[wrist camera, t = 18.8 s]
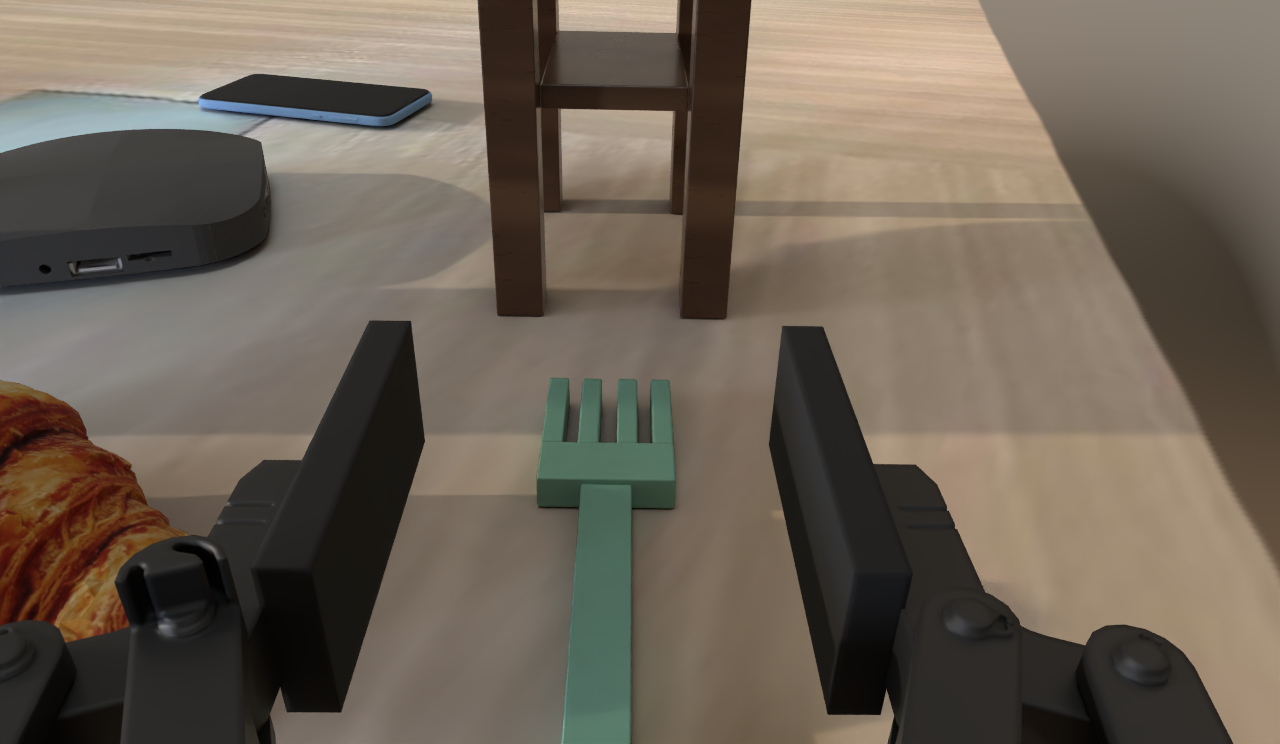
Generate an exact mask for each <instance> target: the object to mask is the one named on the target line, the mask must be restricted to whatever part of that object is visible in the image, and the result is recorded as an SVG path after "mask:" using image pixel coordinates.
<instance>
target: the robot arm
mask: <svg viewBox="0 0 1280 744" xmlns="http://www.w3.org/2000/svg"><path fill="white" fill-rule="evenodd" d="M424 443H425V438H424V429H423V421H422V412H421V404H420V395H419V387H418V378H417V370H416V361H415V353H414V344H413V336H412V327H411V321H369V323H368V325H367V327H366V329H365V331H364V333H363V335H362V337H361V339H360V341H359V344H358V346H357V348H356V350H355V352H354V354H353V356H352V358H351V360H350V362H349V364H348V366H347V368H346V370H345V372H344V375H343V377H342V379H341V381H340V383H339V385H338V387H337V389H336V391H335V393H334V395H333V397H332V399H331V401H330V403H329V406H328V408H327V410H326V412H325V414H324V416H323V418H322V420H321V422H320V424H319V426H318V428H317V430H316V432H315V434H314V437H313V439H312V441H311V443H310V445H309V447H308V449H307V451H306V453H305V455H304V457H303V459H302V460H263V461H262V462H261V463H260V464H258V465H257V466H256V467H255V468H254V469H252V470H251V471H250V472H249V473H247V474H246V475H245V476H244V477H243V478H241V479H240V480H239V482H238V484H237V486H236V487H235V489H234V491H233V493H232V495H231V496H230V498H229V500H228V502H227V506H225V507H224V509H223V511H222V512H221V514H220V516H219V518H218V520H217V525H214V527H213V529H212V530H211V532H210V534H209V536H208V537H201V536H196V535H190V536H179V537H172V538H169V539H166V540H162V541H159V542H156V543H153V544H151V545H149V546H148V547H146V548H144V549H142V550H141V551H139V552H137V553H135V554H134V555H133V556H132V557H131V558H130V559H129V560H128V561H127V562H126V563H125V564H124V565H123V566H122V567H121V568H120V569H119V572H118V574H117V577H116V579H115V581H114V583H115V586H116V589H117V592H118V594H119V597H120V600H121V603H122V605H123V608H124V611H125V614H126V617H127V619H128V622H129V625H130V627H127V628H123V629H120V630H117V631H114V632H110V633H106V634H101V635H97V636H92V637H88V638H84V639H79V640H75V641H70V642H65V640H64V638H63V636H62V634H61V631H60V629H59V628H58V627H56V626H54V625H52V624H50V623H48V622H46V621H36V620H24V621H18V622H13V623H8V624H4V625H1V626H0V744H276V740H275V732H274V728H273V724H272V721H271V717H270V712H271V709H272V707H273V704H274V701H275V699H276V696H277V694H278V691H279V688H280V687H281V691H282V695H283V699H284V703H285V706H286V710H287V712H341V711H342V708H343V704H344V701H345V698H346V695H347V692H348V688H349V685H350V682H351V679H352V675H353V672H354V669H355V666H356V662H357V659H358V656H359V653H360V649H361V646H362V643H363V640H364V637H365V633H366V630H367V627H368V624H369V620H370V617H371V614H372V611H373V607H374V604H375V601H376V598H377V594H378V591H379V588H380V585H381V582H382V578H383V575H384V572H385V569H386V565H387V562H388V559H389V556H390V552H391V549H392V546H393V543H394V540H395V536H396V533H397V530H398V527H399V523H400V520H401V517H402V514H403V510H404V507H405V504H406V501H407V497H408V494H409V491H410V488H411V485H412V481H413V478H414V475H415V472H416V468H417V465H418V462H419V459H420V455H421V452H422V449H423V446H424ZM769 447H770V452H771V457H772V461H773V466H774V470H775V475H776V479H777V484H778V489H779V493H780V498H781V502H782V507H783V512H784V516H785V521H786V525H787V530H788V535H789V539H790V544H791V548H792V553H793V557H794V562H795V567H796V571H797V576H798V580H799V585H800V590H801V594H802V599H803V603H804V608H805V613H806V617H807V622H808V626H809V631H810V635H811V640H812V645H813V649H814V654H815V658H816V663H817V668H818V672H819V677H820V681H821V686H822V690H823V695H824V700H825V704H826V709H827V713H828V715H881V710H882V706H883V702H884V697H885V693H886V689H887V692H888V695H889V699H890V702H891V705H892V709H893V712H894V719H893V723H892V728H891V732H890V736H889V740H888V744H1233V742H1232V740H1231V738H1230V736H1229V734H1228V732H1227V730H1226V728H1225V726H1224V724H1223V722H1222V720H1221V718H1220V716H1219V714H1218V712H1217V710H1216V709H1215V707H1214V705H1213V703H1212V701H1211V699H1210V697H1209V695H1208V693H1207V691H1206V689H1205V687H1204V685H1203V683H1202V681H1201V679H1200V677H1199V675H1198V673H1197V671H1196V669H1195V667H1194V666H1193V665H1192V663H1191V662H1190V661H1189V659H1188V658H1187V657H1186V655H1185V654H1184V653H1183V652H1182V651H1181V650H1180V649H1178V648H1177V647H1176V646H1174V645H1173V644H1172V643H1171V642H1169V641H1168V640H1167V639H1165V638H1163V637H1161V636H1159V635H1157V634H1154V633H1152V632H1150V631H1148V630H1146V629H1142V628H1137V627H1133V626H1128V625H1109V626H1104V627H1102V628H1100V629H1098V630H1096V631H1094V632H1092V634H1091V636H1090V638H1089V640H1088V641H1087V643H1086V646H1085V645H1081V644H1077V643H1073V642H1069V641H1065V640H1061V639H1057V638H1053V637H1049V636H1045V635H1042V634H1039V633H1036V632H1033V631H1030V630H1028V629H1026V628H1024V627H1022V626H1020V622H1019V619H1018V618H1017V617H1016V616H1015V614H1014V613H1013V612H1012V611H1011V609H1010V608H1009V607H1008V606H1007V605H1006V604H1004V603H1003V602H1001V601H1000V600H998V599H997V598H995V597H994V596H993V595H990V594H988V593H985V591H984V588H983V586H982V584H981V582H980V580H979V577H978V575H977V573H976V571H975V568H974V566H973V564H972V562H971V559H970V557H969V555H968V553H967V550H966V548H965V546H964V544H963V542H962V539H961V537H960V535H959V533H958V530H957V529H955V524H954V521H953V519H952V517H951V515H950V512H949V511H947V506H946V504H945V501H944V499H943V497H942V495H941V492H940V490H939V488H938V486H937V484H936V483H935V482H934V481H933V480H932V479H931V478H929V477H928V476H927V475H926V474H925V473H924V472H923V471H922V470H921V469H920V468H919V467H918V466H917V465H899V464H873V462H872V459H871V457H870V454H869V451H868V448H867V446H866V443H865V440H864V438H863V435H862V432H861V429H860V427H859V424H858V421H857V418H856V416H855V413H854V410H853V408H852V405H851V402H850V399H849V397H848V394H847V391H846V388H845V386H844V383H843V380H842V378H841V375H840V372H839V369H838V367H837V364H836V361H835V358H834V356H833V353H832V350H831V347H830V345H829V342H828V339H827V337H826V334H825V331H824V328H823V327H814V326H782V335H781V343H780V352H779V361H778V370H777V379H776V387H775V396H774V405H773V414H772V423H771V431H770V440H769Z"/></svg>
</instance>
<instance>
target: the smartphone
mask: <svg viewBox="0 0 1280 744" xmlns="http://www.w3.org/2000/svg"><path fill="white" fill-rule="evenodd" d="M198 101H199V105H200V106H201V107H203V108H207V109H216V110H226V111H235V112H245V113H255V114H264V115H274V116H283V117H293V118H303V119H312V120H322V121H331V122H341V123H351V124H360V125H370V126H389V125H392V124H395V123H397V122H399V121H400V120H402V119H404V118H405V117H407V116H409V115H410V114H412V113H414V112H415V111H417V110H419V109H420V108H422V107H424V106H425V105H427V104H428V103H430V102H431V101H432V94H431V92H429V91H428V90H425V89H418V88H407V87H396V86H386V85H375V84H364V83H353V82H343V81H332V80H321V79H311V78H300V77H289V76H278V75H268V74H253V75H249V76H247V77H244V78H242V79H239V80H237V81H234V82H232V83H229V84H227V85H225V86H222V87H220V88H217V89H215V90H212V91H210V92H207V93H205V94H203V95H201V96H200V97H199V98H198Z"/></svg>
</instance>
